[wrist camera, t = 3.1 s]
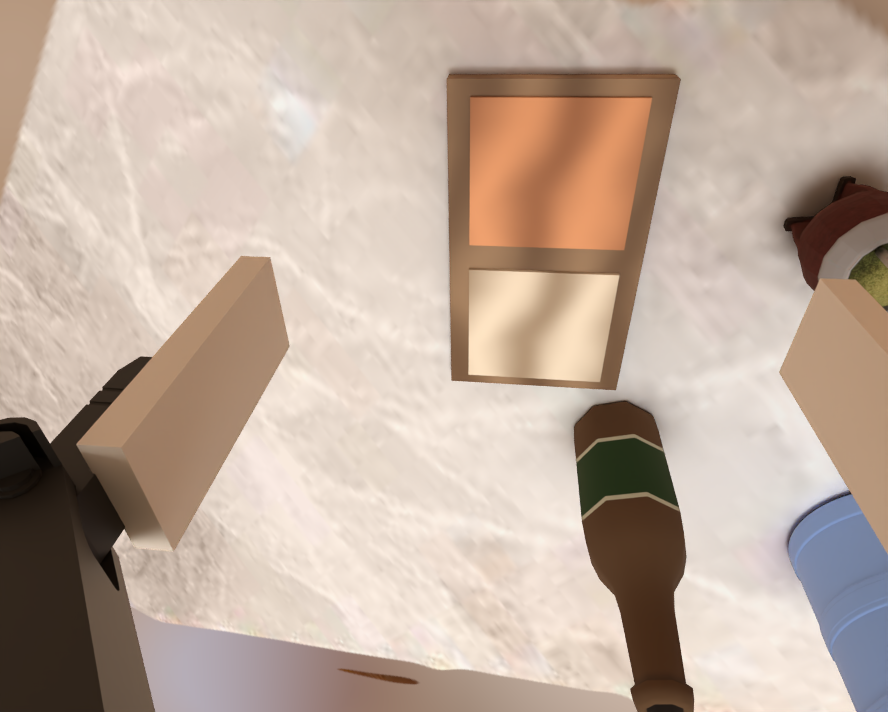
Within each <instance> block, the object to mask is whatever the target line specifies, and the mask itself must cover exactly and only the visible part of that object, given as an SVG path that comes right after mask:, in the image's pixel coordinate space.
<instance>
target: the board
mask: <svg viewBox="0 0 888 712" xmlns="http://www.w3.org/2000/svg"><path fill="white" fill-rule="evenodd" d="M680 80H681V79H680V78H679V77H678V76H677V75H676V74H449V76H448V78H447V127H448V189H449V251H450V313H451V375H452V381H468V382H485V383H502V384H519V385H536V386H553V387H571V388H588V389H605V390H616V387H617V382H618V378H619V373H620V368H621V363H622V358H623V354H624V349H625V344H626V339H627V334H628V330H629V325H630V320H631V315H632V310H633V306H634V301H635V296H636V291H637V286H638V282H639V277H640V272H641V267H642V262H643V258H644V253H645V248H646V243H647V238H648V234H649V229H650V224H651V219H652V214H653V210H654V205H655V200H656V195H657V190H658V186H659V181H660V176H661V171H662V166H663V162H664V157H665V152H666V147H667V142H668V138H669V133H670V128H671V123H672V118H673V114H674V109H675V104H676V99H677V94H678V90H679V85H680Z"/></svg>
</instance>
